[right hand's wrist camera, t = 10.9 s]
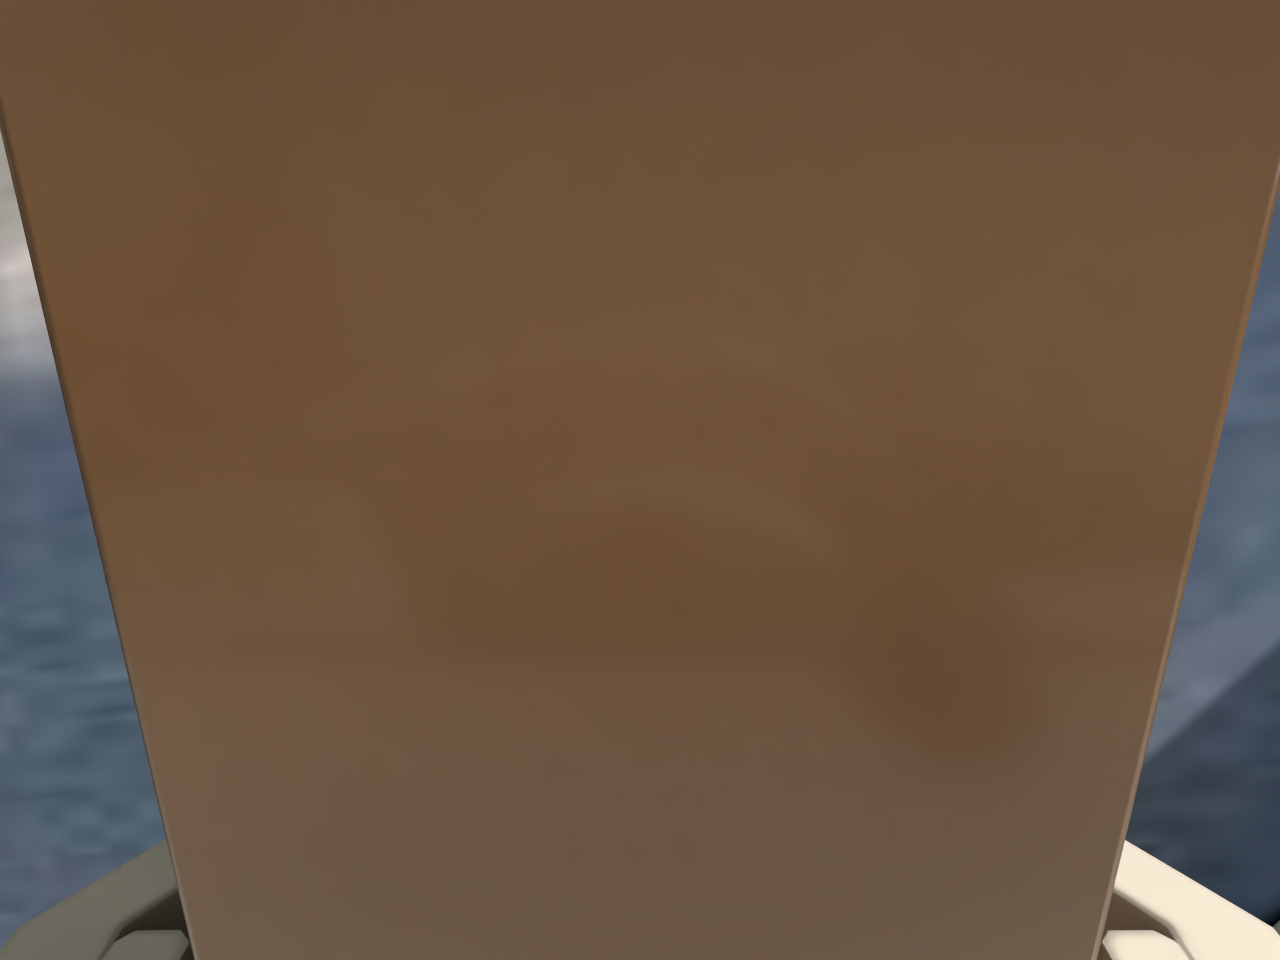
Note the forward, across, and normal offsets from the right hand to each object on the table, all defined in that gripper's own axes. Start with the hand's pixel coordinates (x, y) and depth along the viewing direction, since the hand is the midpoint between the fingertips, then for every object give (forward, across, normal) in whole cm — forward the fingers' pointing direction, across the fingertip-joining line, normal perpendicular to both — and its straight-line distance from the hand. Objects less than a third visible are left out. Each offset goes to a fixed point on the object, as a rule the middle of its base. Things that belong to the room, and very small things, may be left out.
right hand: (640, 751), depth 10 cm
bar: (+4, 0, -7) cm, 8 cm away
